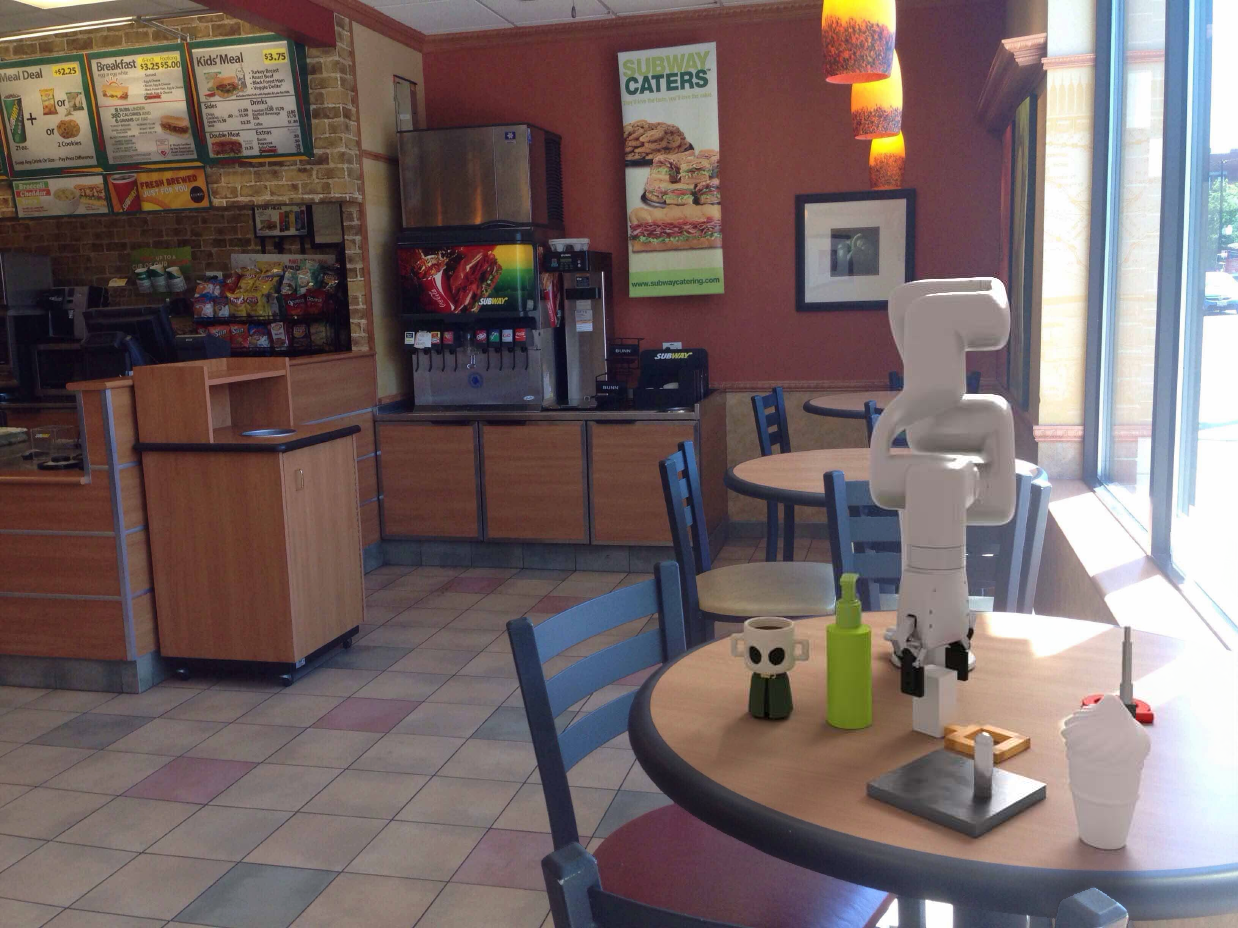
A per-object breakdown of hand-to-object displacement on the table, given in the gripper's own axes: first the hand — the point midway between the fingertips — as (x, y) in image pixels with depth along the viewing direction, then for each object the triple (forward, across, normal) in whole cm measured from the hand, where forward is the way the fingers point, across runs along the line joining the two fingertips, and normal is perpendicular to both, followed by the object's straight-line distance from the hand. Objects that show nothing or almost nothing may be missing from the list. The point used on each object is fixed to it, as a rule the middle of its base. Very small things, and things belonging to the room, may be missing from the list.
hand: (934, 686), depth 138 cm
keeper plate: (+7, +14, +12) cm, 20 cm away
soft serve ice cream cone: (+7, +12, +28) cm, 32 cm away
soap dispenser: (+6, +4, -11) cm, 13 cm away
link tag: (+6, -1, +4) cm, 7 cm away
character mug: (+6, +10, -20) cm, 23 cm away
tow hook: (+6, -24, +12) cm, 28 cm away
